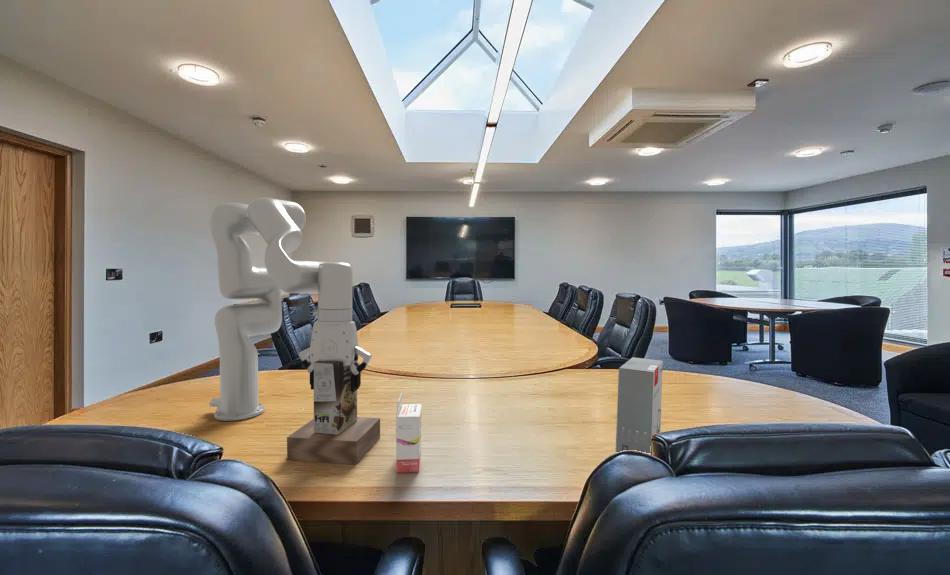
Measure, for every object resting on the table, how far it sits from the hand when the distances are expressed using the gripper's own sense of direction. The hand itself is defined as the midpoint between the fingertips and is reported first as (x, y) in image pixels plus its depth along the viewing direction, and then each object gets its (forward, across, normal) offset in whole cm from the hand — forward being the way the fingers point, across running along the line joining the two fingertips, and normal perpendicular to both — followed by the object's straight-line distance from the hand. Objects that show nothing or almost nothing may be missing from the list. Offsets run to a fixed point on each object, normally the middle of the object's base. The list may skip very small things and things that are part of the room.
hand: (335, 389), depth 95 cm
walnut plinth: (+14, 0, 0) cm, 14 cm away
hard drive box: (+13, +71, +11) cm, 73 cm away
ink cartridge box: (+14, +20, -5) cm, 25 cm away
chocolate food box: (+9, 0, 0) cm, 9 cm away
